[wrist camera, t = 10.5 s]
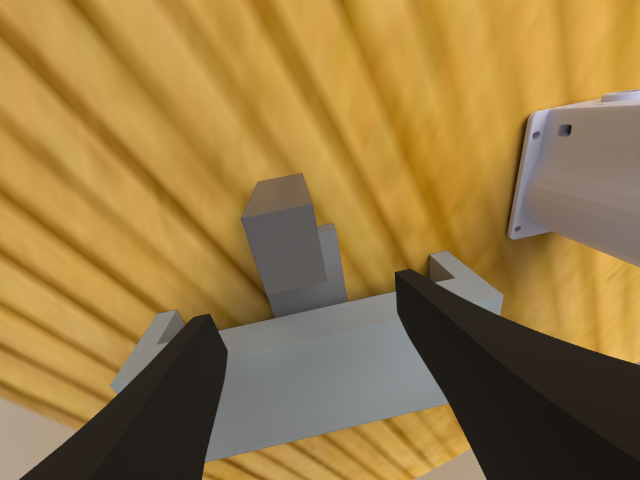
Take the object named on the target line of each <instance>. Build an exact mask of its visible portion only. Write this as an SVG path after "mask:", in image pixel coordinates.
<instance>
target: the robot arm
mask: <svg viewBox="0 0 640 480" xmlns="http://www.w3.org/2000/svg"><path fill="white" fill-rule="evenodd" d="M534 133H535V135H534V137H533V134H534ZM515 228H516V229H515ZM548 232H554V233H557V234H559V235H561V236H564V237H566V238H569V239H571V240H574V241H576V242H579V243H581V244H584V245H586V246H588V247H591V248H593V249H596V250H598V251H601V252H603V253H606V254H608V255H610V256H613V257H615V258H618V259H620V260H623V261H625V262H628V263H630V264H633V265H635V266H637V267H640V89H637V90H628V91H621V92H614V93H609V94H604V95H603V96H602V98H600V99H595V100H590V101H585V102H580V103H575V104H570V105H565V106H560V107H555V108H550V109H545V110H540V111H536V112H533V113H532V114H531V115H530V117H529V118H528V122H527V127H526V133H525V139H524V144H523V150H522V155H521V161H520V167H519V172H518V178H517V183H516V189H515V195H514V200H513V206H512V212H511V217H510V223H509V228H508V237H509V238H511V239H513V240H516V239H521V238H525V237H530V236H534V235H539V234H543V233H548ZM395 285H396V303H397V314H398V316H399V318H400V320H401V322H402V325H403V327H404V329H405V331H406V333H407V335H408V337H409V339H410V340H411V342H412V344H413V345H414V347H415V349H416V350H417V352H418V353H419V355H420V357H421V358H422V360H423V362H424V363H425V365H426V366H427V368H428V370H429V371H430V373H431V374H432V376H433V378H434V379H435V381H436V383H437V384H438V386H439V387H440V389H441V391H442V392H443V394H444V396H445V397H446V399H447V401H448V403H449V404H450V406H451V408H452V410H453V412H454V414H455V416H456V418H457V420H458V422H459V424H460V426H461V428H462V430H463V432H464V434H465V436H466V438H467V440H468V442H469V444H470V446H471V448H472V450H473V452H474V454H475V456H476V458H477V460H478V462H479V464H480V466H481V469H482V471H483V473H484V475H485V477H486V479H487V480H640V365H637V364H634V363H631V362H627V361H624V360H620V359H617V358H614V357H610V356H607V355H604V354H601V353H598V352H595V351H592V350H588V349H585V348H583V347H580V346H577V345H574V344H571V343H568V342H565V341H562V340H560V339H557V338H554V337H551V336H548V335H546V334H543V333H540V332H538V331H535V330H533V329H530V328H528V327H525V326H523V325H520V324H518V323H516V322H513V321H511V320H508V319H506V318H504V317H501V316H499V315H497V314H495V313H493V312H490V311H488V310H486V309H484V308H482V307H480V306H478V305H476V304H474V303H472V302H470V301H468V300H466V299H464V298H462V297H460V296H458V295H456V294H454V293H453V292H451V291H449V290H447V289H445V288H444V287H442V286H440V285H438V284H436V283H435V282H433V281H431V280H429V279H428V278H426V277H424V276H422V275H421V274H419V273H417V272H415V271H413V270H412V269H407V270H402V271H398V272H395ZM227 357H228V350H227V348H226V346H225V344H224V342H223V340H222V338H221V336H220V334H219V332H218V330H217V328H216V326H215V323H214V321H213V319H212V317H211V315H210V314H206V315H201V316H197V317H193V318H192V319H191V320H190V321H189V322H188V323H187V324H186V325H185V326H184V327H183V328H182V329H181V330H180V331H179V332H178V333H177V334H176V335H175V336H174V338H173V339H172V340H171V341H170V342H169V343H168V344H167V345H166V346H165V347H164V348H163V349H162V350H161V351H160V352H159V353H158V354H157V355H156V357H155V358H154V359H153V360H152V361H151V362H150V363H149V364H148V365H147V366H146V367H145V368H144V369H143V370H142V371H141V372H140V373H139V374H138V375H137V376H136V377H135V378H134V379H133V380H132V381H131V382H130V383H129V384H128V385H127V386H126V387H125V388H124V389H123V390H122V391H121V392H120V393H119V394H118V395H117V396H116V397H115V398H114V399H113V400H112V401H111V402H109V403H108V404H107V405H106V406H105V407H104V408H103V409H102V410H101V411H100V412H99V413H98V414H96V415H95V416H94V417H93V418H92V419H91V420H90V421H89V422H88V423H86V424H85V425H84V426H83V427H82V428H81V429H80V430H78V431H77V432H76V433H75V434H74V435H73V436H72V437H70V438H69V439H68V440H67V441H66V442H65V443H63V444H62V445H61V446H60V447H59V448H57V449H56V450H55V451H54V452H52V453H51V454H50V455H49V456H48V457H46V458H45V459H44V460H43V461H42V462H40V463H39V464H38V465H37V466H35V467H34V468H33V469H32V470H30V471H29V472H28V473H27V474H25V475H24V476H23V477H22V478H21V479H19V480H202V475H203V469H204V464H205V459H206V454H207V449H208V445H209V441H210V437H211V433H212V429H213V425H214V421H215V417H216V413H217V409H218V405H219V401H220V397H221V393H222V389H223V385H224V380H225V374H226V367H227Z"/></svg>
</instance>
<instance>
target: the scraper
mask: <svg viewBox="0 0 640 480" xmlns="http://www.w3.org/2000/svg"><path fill="white" fill-rule="evenodd" d="M241 220H242V223H243V226H244V229H245V232H246V235H247V238H248V241H249V244H250V247H251V250H252V253H253V256H254V259H255V262H256V265H257V268H258V271H259V274H260V277H261V280H262V283H263V286H264V289H265V292H266V295H267V297H268V300H269V302H270V305H271V308H272V311H273V314H274V317H275V318H279V317H283V316H288V315H292V314H297V313H301V312H306V311H310V310H314V309H319V308H323V307H328V306H332V305H337V304H341V303H346V302H347V296H346V289H345V283H344V276H343V270H342V264H341V257H340V251H339V245H338V238H337V232H336V228H335V226H334V224H333V223H331V224H326V225H322V226H317V225H316V219H315V214H314V209H313V204H312V201H311V198H310V195H309V192H308V189H307V186H306V182H305V179H304V176H303V173H300V174H295V175H290V176H285V177H280V178H275V179H270V180H265V181H260V182H258V183H257V185H256V187H255V189H254V191H253V194H252V196H251V198H250V200H249V202H248V204H247V206H246V209H245V211H244V213H243V215H242V217H241Z"/></svg>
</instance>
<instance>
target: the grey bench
mask: <svg viewBox="0 0 640 480" xmlns="http://www.w3.org/2000/svg"><path fill="white" fill-rule="evenodd" d="M429 280H431V281H433V282H435V283H436V284H438V285H440V286H442V287H444V288H445V289H447V290H449V291H451V292H453V293H454V294H456V295H458V296H460V297H462V298H464V299H466V300H468V301H470V302H472V303H474V304H476V305H478V306H480V307H482V308H484V309H486V310H488V311H490V312H493V313H495V314H497V315H499V316H500V313H501V308H502V302H503V297H504V295H503V294H501V293H500V292H499V291H497V290H496V289H495V288H494V287H492V286H491V285H490V284H489V283H487V282H486V281H485V280H484V279H482V278H481V277H480V276H478V275H477V274H476V273H475V272H473V271H472V270H471V269H470V268H468V267H467V266H466V265H465V264H463V263H462V262H461V261H460V260H458V259H457V258H456V257H454V256H453V255H452V254H451V253H449V252H448V251H443V252H438V253H434V254H430V262H429ZM184 326H185V324H184V322H183V320H182V318H181V317H180V315H179V313H178V311H177V310H173V311H168V312H164V313H159V314H157V316H156V317H155V319H154V320H153V322H152V323H151V325H150V326H149V328H148V329H147V331H146V332H145V334H144V335H143V337H142V338H141V340H140V341H139V343H138V344H137V346H136V347H135V349H134V350H133V352H132V353H131V355H130V356H129V358H128V359H127V361H126V362H125V364H124V365H123V367H122V368H121V370H120V371H119V373H118V374H117V375H116V377H115V378H114V380H113V381H112V383H111V384H110V386H111V387H112V388H113V389H114V390H115V392H116V393H117V394H119V393H120V392H121V391H122V390H123V389H124V388H125V387H126V386H127V385H128V384H129V383H130V382H131V381H132V380H133V379H134V378H135V377H136V376H137V375H138V374H139V373H140V372H141V371H142V370H143V369H144V368H145V367H146V366H147V365H148V364H149V363H150V362H151V361H152V360H153V359H154V358H155V357H156V355H157V354H158V353H159V352H160V351H161V350H162V349H163V348H164V347H165V346H166V345H167V344H168V343H169V342H170V341H171V340H172V339H173V338H174V336H175V335H176V334H177V333H178V332H179V331H180V330H181V329H182V328H183V327H184ZM218 332H219V334H220V336H221V338H222V340H223V342H224V344H225V346H226V348H227V350H228V357H227V367H226V374H225V380H224V385H223V389H222V393H221V397H220V401H219V405H218V409H217V413H216V417H215V421H214V425H213V429H212V433H211V437H210V441H209V445H208V449H207V454H206V459H205V462H209V461H213V460H218V459H222V458H226V457H230V456H234V455H238V454H242V453H246V452H251V451H255V450H259V449H263V448H267V447H271V446H275V445H279V444H284V443H288V442H292V441H296V440H300V439H304V438H308V437H312V436H317V435H321V434H325V433H329V432H333V431H337V430H341V429H345V428H350V427H354V426H358V425H362V424H366V423H370V422H374V421H378V420H382V419H387V418H391V417H395V416H399V415H403V414H407V413H411V412H415V411H420V410H424V409H428V408H432V407H436V406H440V405H444V404H448V401H447V399H446V397H445V396H444V394H443V392H442V391H441V389H440V387H439V386H438V384H437V383H436V381H435V379H434V378H433V376H432V374H431V373H430V371H429V370H428V368H427V366H426V365H425V363H424V362H423V360H422V358H421V357H420V355H419V353H418V352H417V350H416V349H415V347H414V345H413V344H412V342H411V340H410V339H409V337H408V335H407V333H406V331H405V329H404V327H403V325H402V322H401V320H400V318H399V316H398V314H397V303H396V291H395V292H391V293H386V294H382V295H377V296H373V297H368V298H364V299H359V300H355V301H350V302H346V303H341V304H337V305H332V306H328V307H323V308H319V309H314V310H310V311H306V312H301V313H297V314H292V315H288V316H283V317H279V318H274V319H270V320H265V321H261V322H256V323H252V324H247V325H243V326H238V327H234V328H229V329H225V330H220V331H218Z"/></svg>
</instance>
